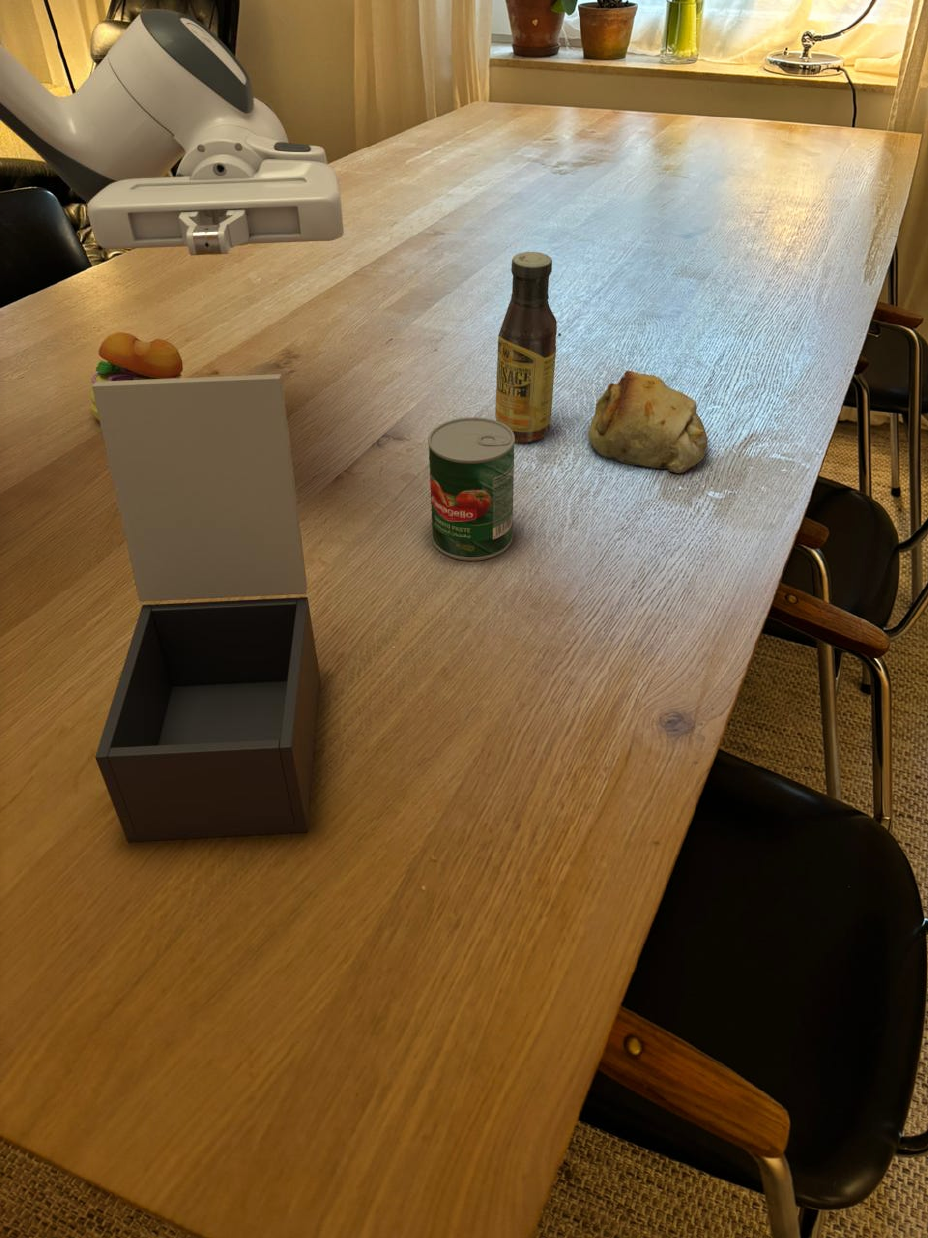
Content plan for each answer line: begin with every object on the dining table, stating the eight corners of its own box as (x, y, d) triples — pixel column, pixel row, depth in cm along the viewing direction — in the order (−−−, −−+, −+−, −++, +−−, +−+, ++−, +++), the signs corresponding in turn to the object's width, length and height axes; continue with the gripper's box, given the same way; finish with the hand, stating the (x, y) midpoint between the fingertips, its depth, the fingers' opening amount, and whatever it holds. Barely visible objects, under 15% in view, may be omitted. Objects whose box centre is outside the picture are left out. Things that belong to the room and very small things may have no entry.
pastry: (565, 427, 113) (569, 361, 108) (662, 406, 116) (670, 341, 111) (624, 489, 103) (631, 419, 98) (728, 464, 106) (740, 396, 101)
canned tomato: (426, 558, 94) (420, 457, 87) (438, 512, 100) (434, 414, 93) (509, 564, 93) (510, 462, 86) (517, 517, 99) (519, 418, 92)
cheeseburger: (73, 408, 118) (70, 324, 113) (156, 399, 125) (156, 320, 120) (112, 438, 112) (110, 350, 107) (197, 427, 119) (199, 344, 114)
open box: (307, 832, 70) (291, 747, 64) (127, 842, 69) (94, 757, 64) (320, 679, 82) (307, 596, 76) (166, 687, 81) (142, 604, 76)
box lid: (279, 377, 67) (281, 373, 68) (91, 385, 67) (95, 381, 67) (306, 593, 75) (307, 587, 76) (139, 602, 75) (142, 595, 76)
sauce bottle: (484, 430, 113) (483, 255, 100) (524, 412, 116) (528, 240, 103) (523, 452, 109) (527, 273, 96) (564, 433, 112) (573, 257, 99)
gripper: (100, 154, 84) (57, 207, 73) (342, 145, 84) (334, 196, 74) (118, 230, 88) (80, 290, 77) (349, 221, 88) (343, 280, 78)
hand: (206, 244), depth 76 cm, fingers closed
